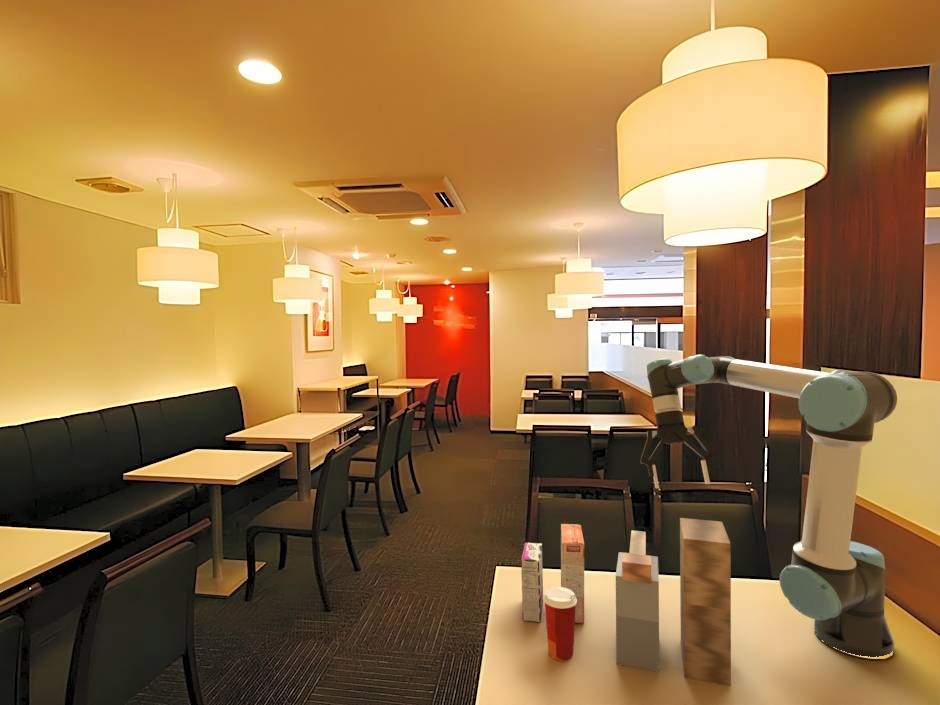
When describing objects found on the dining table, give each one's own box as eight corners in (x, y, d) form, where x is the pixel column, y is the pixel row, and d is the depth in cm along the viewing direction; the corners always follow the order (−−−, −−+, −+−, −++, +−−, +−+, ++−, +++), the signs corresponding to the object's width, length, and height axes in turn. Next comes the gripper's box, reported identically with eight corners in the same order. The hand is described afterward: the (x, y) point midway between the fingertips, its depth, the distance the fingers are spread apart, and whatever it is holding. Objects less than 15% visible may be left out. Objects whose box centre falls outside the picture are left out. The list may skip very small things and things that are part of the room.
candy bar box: (525, 599, 142) (524, 541, 141) (543, 601, 141) (542, 542, 140) (521, 621, 131) (520, 558, 131) (541, 623, 130) (540, 560, 130)
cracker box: (585, 624, 129) (585, 543, 128) (561, 623, 130) (560, 542, 129) (582, 596, 143) (581, 523, 142) (560, 595, 144) (559, 522, 143)
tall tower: (722, 649, 118) (722, 521, 117) (730, 685, 106) (730, 543, 105) (680, 642, 121) (679, 517, 120) (684, 676, 109) (683, 538, 108)
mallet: (650, 543, 130) (650, 528, 130) (651, 583, 109) (651, 565, 109) (626, 541, 132) (626, 526, 132) (622, 579, 111) (622, 561, 111)
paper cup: (582, 649, 119) (581, 590, 118) (571, 668, 112) (570, 605, 112) (550, 639, 123) (549, 582, 122) (538, 657, 116) (537, 597, 116)
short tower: (658, 638, 123) (657, 556, 122) (659, 672, 110) (658, 581, 110) (619, 631, 126) (618, 552, 125) (616, 663, 113) (615, 575, 113)
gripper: (710, 408, 150) (725, 482, 145) (623, 418, 155) (635, 489, 149) (716, 404, 143) (733, 482, 137) (625, 415, 148) (637, 490, 142)
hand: (682, 486), depth 143 cm, fingers open, 13 cm apart
